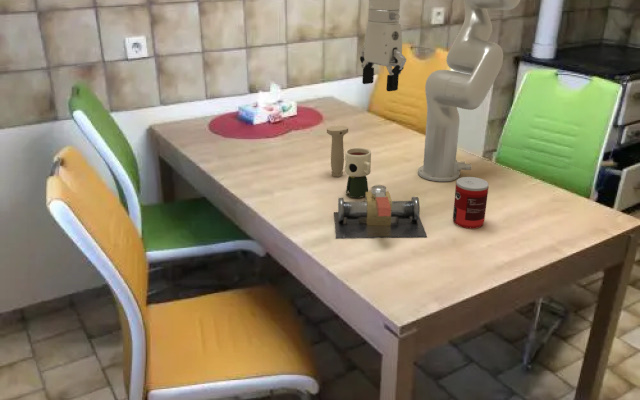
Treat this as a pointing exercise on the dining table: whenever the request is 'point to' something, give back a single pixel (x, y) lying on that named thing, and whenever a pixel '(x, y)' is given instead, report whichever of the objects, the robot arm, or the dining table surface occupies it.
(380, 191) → the lever
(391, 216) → the valve
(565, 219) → the dining table surface
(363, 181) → the character mug
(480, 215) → the canned food
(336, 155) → the handle
